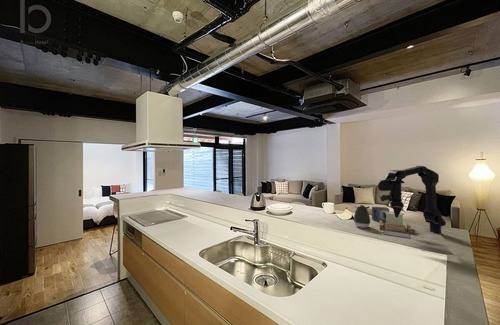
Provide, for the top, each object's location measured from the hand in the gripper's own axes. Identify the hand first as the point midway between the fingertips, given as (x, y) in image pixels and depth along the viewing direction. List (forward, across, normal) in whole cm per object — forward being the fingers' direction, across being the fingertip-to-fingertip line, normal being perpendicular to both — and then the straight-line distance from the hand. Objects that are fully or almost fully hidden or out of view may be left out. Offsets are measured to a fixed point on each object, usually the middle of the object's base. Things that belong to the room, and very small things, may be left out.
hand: (395, 215), depth 129 cm
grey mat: (+12, 0, 0) cm, 12 cm away
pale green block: (+12, -16, 0) cm, 20 cm away
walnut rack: (+12, -14, 0) cm, 18 cm away
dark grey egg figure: (+12, -8, -19) cm, 24 cm away
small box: (+12, -30, -8) cm, 34 cm away
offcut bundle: (+12, -8, 0) cm, 15 cm away
